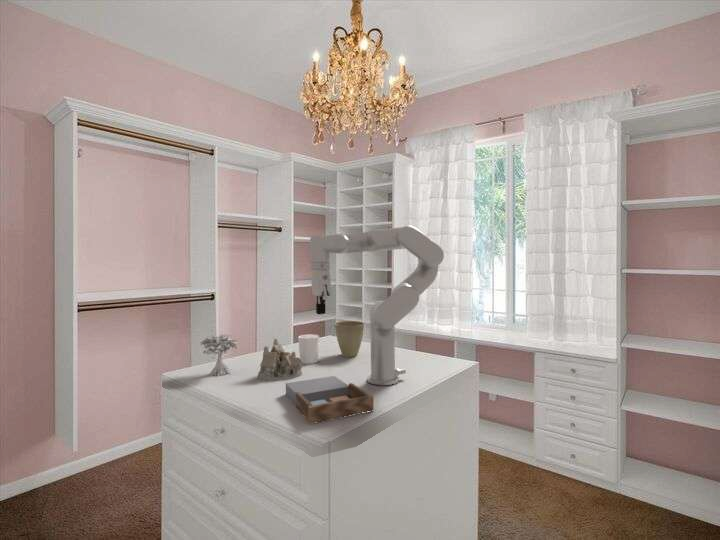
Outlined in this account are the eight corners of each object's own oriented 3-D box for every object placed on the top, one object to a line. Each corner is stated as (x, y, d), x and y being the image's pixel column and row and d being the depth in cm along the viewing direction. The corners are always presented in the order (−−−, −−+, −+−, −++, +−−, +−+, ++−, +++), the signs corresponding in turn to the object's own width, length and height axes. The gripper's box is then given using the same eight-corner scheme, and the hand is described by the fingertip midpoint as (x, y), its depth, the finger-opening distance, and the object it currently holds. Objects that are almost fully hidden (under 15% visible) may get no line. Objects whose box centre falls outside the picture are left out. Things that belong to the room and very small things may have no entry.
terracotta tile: (353, 400, 134) (353, 408, 134) (345, 395, 139) (345, 402, 139) (336, 404, 131) (336, 411, 131) (329, 398, 136) (329, 405, 136)
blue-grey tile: (331, 405, 130) (331, 412, 130) (323, 399, 136) (324, 406, 136) (313, 408, 127) (313, 416, 128) (306, 402, 133) (306, 410, 133)
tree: (214, 381, 162) (213, 340, 162) (189, 375, 171) (188, 336, 170) (249, 370, 177) (248, 333, 177) (224, 365, 186) (224, 329, 185)
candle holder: (316, 364, 186) (316, 338, 186) (295, 364, 188) (295, 338, 187) (321, 359, 196) (321, 334, 196) (302, 358, 198) (301, 334, 197)
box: (353, 397, 144) (353, 382, 143) (373, 411, 130) (373, 395, 130) (294, 407, 134) (294, 392, 134) (309, 424, 121) (309, 407, 120)
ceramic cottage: (251, 377, 167) (253, 341, 167) (279, 369, 181) (281, 335, 181) (280, 386, 159) (282, 348, 158) (306, 377, 173) (309, 341, 172)
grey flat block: (334, 386, 156) (334, 375, 155) (350, 397, 143) (350, 386, 143) (285, 394, 147) (285, 383, 147) (297, 407, 135) (297, 395, 134)
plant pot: (330, 353, 207) (330, 322, 207) (357, 350, 213) (356, 320, 213) (341, 360, 194) (341, 327, 193) (369, 356, 200) (369, 324, 199)
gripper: (336, 267, 154) (337, 315, 155) (322, 266, 167) (322, 310, 168) (317, 267, 151) (318, 317, 151) (304, 266, 164) (305, 312, 165)
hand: (320, 313), depth 160 cm, fingers closed
